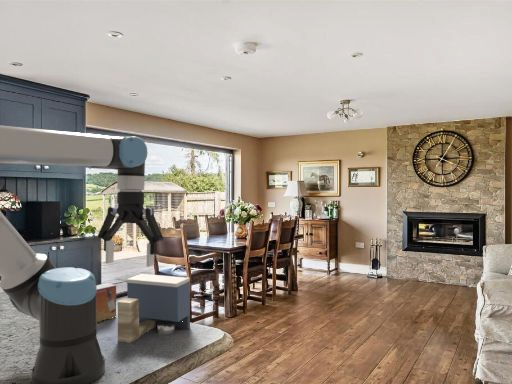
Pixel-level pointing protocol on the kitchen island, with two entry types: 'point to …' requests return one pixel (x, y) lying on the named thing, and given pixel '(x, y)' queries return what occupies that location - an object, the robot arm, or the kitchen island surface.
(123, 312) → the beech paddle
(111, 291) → the small box
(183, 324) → the navy cabinet
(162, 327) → the steel token
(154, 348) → the kitchen island surface
